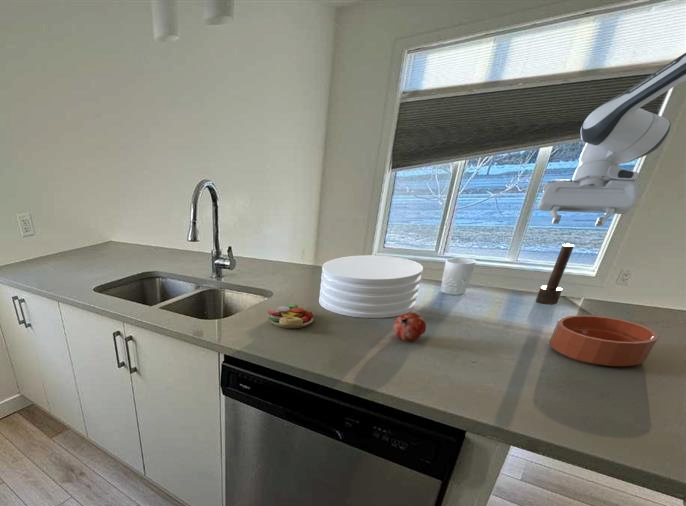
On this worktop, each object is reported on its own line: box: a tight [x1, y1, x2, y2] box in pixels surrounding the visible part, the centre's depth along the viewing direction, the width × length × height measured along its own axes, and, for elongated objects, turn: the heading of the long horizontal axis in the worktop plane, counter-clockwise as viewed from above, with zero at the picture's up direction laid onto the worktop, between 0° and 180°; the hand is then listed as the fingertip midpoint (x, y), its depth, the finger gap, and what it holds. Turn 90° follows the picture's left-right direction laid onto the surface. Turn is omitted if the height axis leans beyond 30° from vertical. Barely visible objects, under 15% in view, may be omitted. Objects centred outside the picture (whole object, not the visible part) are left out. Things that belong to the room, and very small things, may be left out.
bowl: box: [549, 314, 660, 367], centre depth 89 cm, size 16×16×6 cm
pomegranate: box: [392, 311, 427, 343], centre depth 103 cm, size 7×7×10 cm
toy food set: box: [267, 303, 315, 329], centre depth 120 cm, size 13×13×3 cm
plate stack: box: [318, 254, 424, 319], centre depth 126 cm, size 28×28×12 cm
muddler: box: [535, 243, 575, 305], centre depth 114 cm, size 5×5×16 cm
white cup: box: [440, 257, 477, 296], centre depth 128 cm, size 8×8×10 cm
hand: (577, 223), depth 115 cm, fingers open, 8 cm apart
